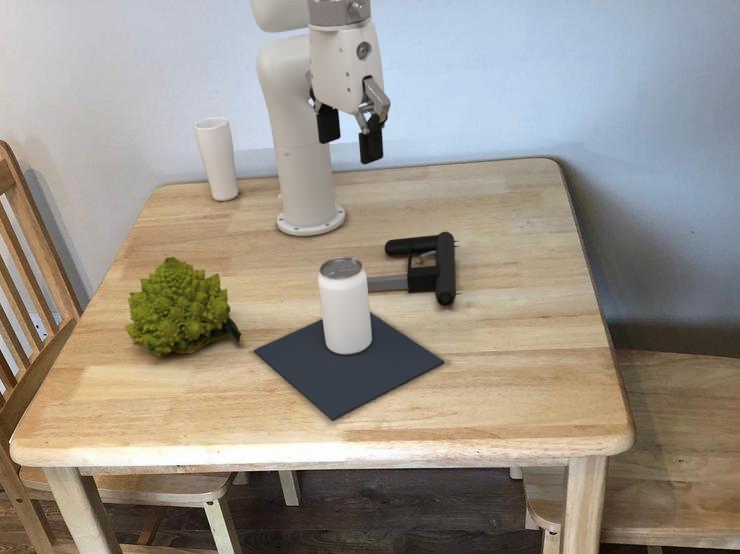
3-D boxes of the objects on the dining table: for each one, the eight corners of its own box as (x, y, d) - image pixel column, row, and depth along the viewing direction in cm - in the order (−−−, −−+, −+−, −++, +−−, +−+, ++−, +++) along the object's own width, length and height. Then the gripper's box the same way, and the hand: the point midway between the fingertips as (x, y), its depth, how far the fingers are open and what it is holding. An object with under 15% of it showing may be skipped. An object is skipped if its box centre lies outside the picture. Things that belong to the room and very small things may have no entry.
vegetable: (268, 316, 107) (190, 248, 100) (196, 400, 108) (112, 338, 100) (236, 290, 120) (165, 228, 112) (172, 365, 120) (96, 308, 112)
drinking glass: (240, 201, 151) (226, 126, 142) (207, 205, 151) (191, 130, 142) (243, 188, 156) (230, 115, 147) (211, 191, 157) (196, 118, 148)
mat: (254, 352, 108) (253, 349, 108) (357, 305, 115) (356, 303, 114) (332, 421, 94) (332, 418, 93) (444, 363, 101) (444, 360, 100)
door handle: (352, 298, 112) (463, 289, 108) (362, 236, 127) (460, 226, 124) (355, 318, 113) (464, 309, 110) (365, 254, 129) (461, 245, 126)
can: (324, 333, 109) (314, 259, 102) (368, 327, 109) (362, 252, 101) (328, 359, 104) (318, 282, 96) (375, 352, 104) (368, 275, 96)
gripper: (409, 12, 84) (414, 160, 95) (325, -7, 96) (337, 126, 107) (354, 28, 82) (365, 179, 92) (274, 6, 94) (292, 141, 104)
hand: (350, 150), depth 100 cm, fingers open, 9 cm apart
